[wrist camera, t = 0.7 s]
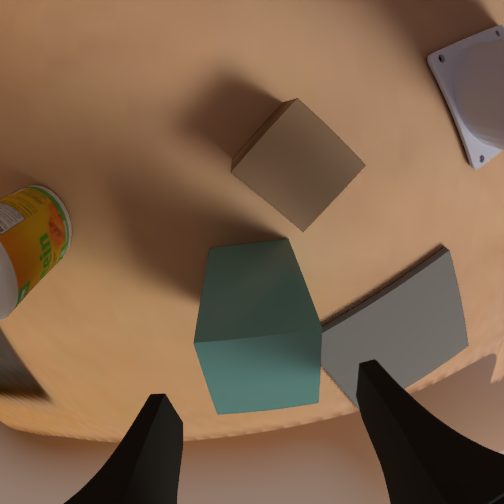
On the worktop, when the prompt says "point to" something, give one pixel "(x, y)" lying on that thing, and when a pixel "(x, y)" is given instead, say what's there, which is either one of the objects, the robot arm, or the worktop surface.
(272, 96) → the worktop surface
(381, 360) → the slate mat
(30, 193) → the supplement bottle
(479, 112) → the robot arm
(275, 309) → the teal block
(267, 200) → the walnut block
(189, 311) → the worktop surface
